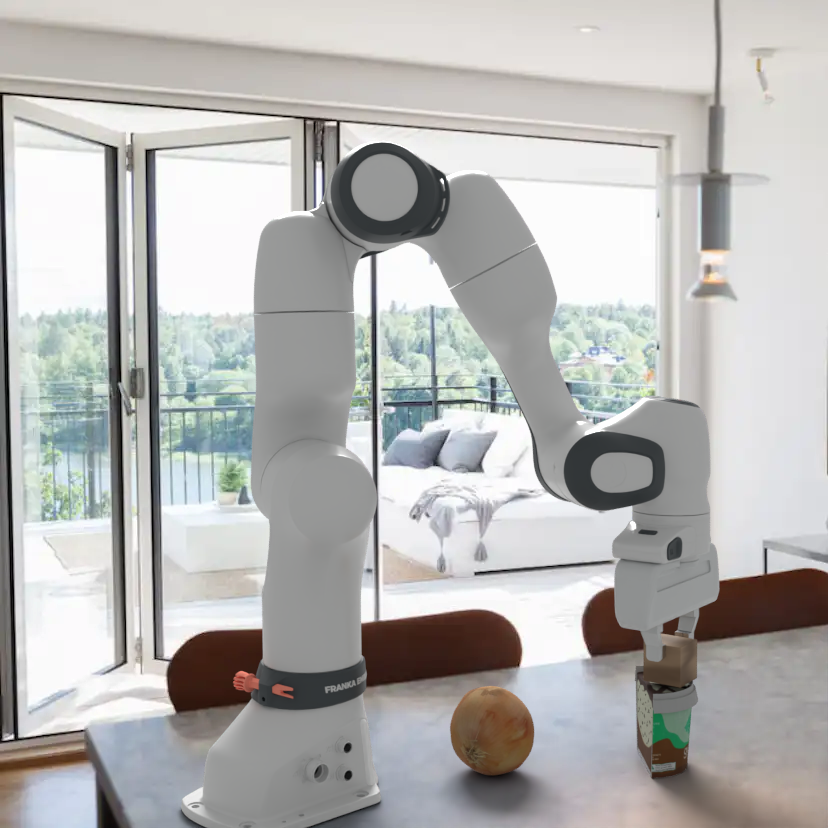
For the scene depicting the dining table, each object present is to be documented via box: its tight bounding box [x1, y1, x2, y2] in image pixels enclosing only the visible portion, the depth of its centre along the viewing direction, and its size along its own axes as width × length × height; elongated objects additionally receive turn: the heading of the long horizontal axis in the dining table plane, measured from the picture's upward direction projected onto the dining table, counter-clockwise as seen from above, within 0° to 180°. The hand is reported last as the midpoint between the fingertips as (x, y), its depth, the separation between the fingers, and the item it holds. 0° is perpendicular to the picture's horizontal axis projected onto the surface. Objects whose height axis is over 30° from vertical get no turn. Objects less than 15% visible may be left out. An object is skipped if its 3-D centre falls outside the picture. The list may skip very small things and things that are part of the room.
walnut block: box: [642, 633, 698, 688], centre depth 128 cm, size 5×5×5 cm
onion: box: [449, 685, 535, 776], centre depth 126 cm, size 10×10×10 cm
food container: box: [634, 665, 699, 779], centre depth 129 cm, size 12×6×10 cm, turn 179°
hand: (670, 652), depth 128 cm, fingers open, 6 cm apart
